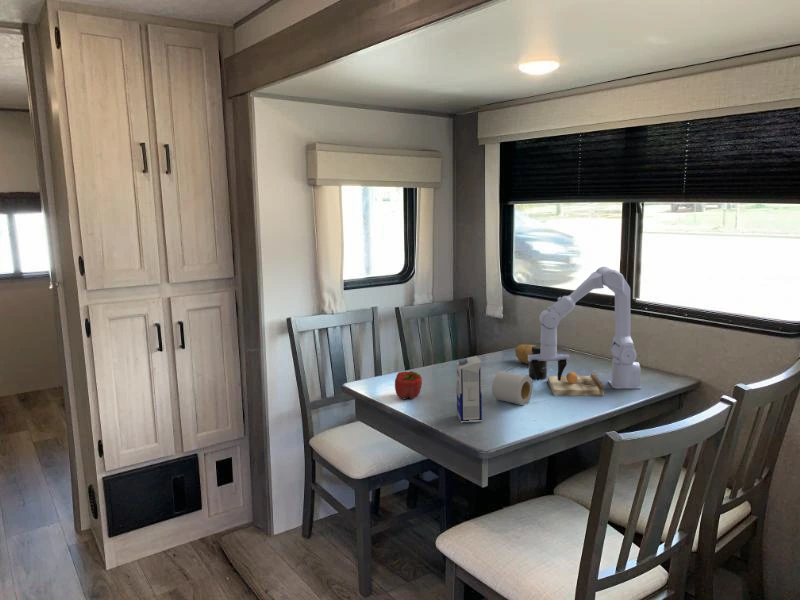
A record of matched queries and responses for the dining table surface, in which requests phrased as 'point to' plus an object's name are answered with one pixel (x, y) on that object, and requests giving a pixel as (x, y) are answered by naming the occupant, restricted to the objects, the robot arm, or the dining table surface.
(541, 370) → the supplement bottle
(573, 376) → the ball
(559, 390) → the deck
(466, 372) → the milk carton
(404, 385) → the vegetable
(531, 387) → the toilet paper
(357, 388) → the dining table surface
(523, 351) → the potato
